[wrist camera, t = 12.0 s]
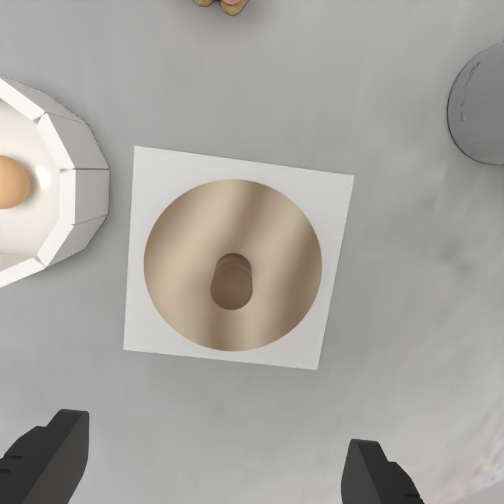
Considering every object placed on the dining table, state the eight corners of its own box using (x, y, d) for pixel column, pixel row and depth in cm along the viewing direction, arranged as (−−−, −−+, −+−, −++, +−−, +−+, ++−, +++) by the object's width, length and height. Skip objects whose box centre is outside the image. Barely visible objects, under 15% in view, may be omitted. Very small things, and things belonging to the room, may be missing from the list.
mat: (353, 175, 29) (354, 175, 29) (316, 367, 33) (317, 370, 33) (136, 145, 28) (134, 145, 28) (124, 347, 32) (123, 349, 32)
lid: (334, 191, 29) (357, 196, 23) (304, 354, 32) (317, 394, 26) (152, 167, 28) (129, 166, 22) (141, 336, 32) (118, 374, 26)
